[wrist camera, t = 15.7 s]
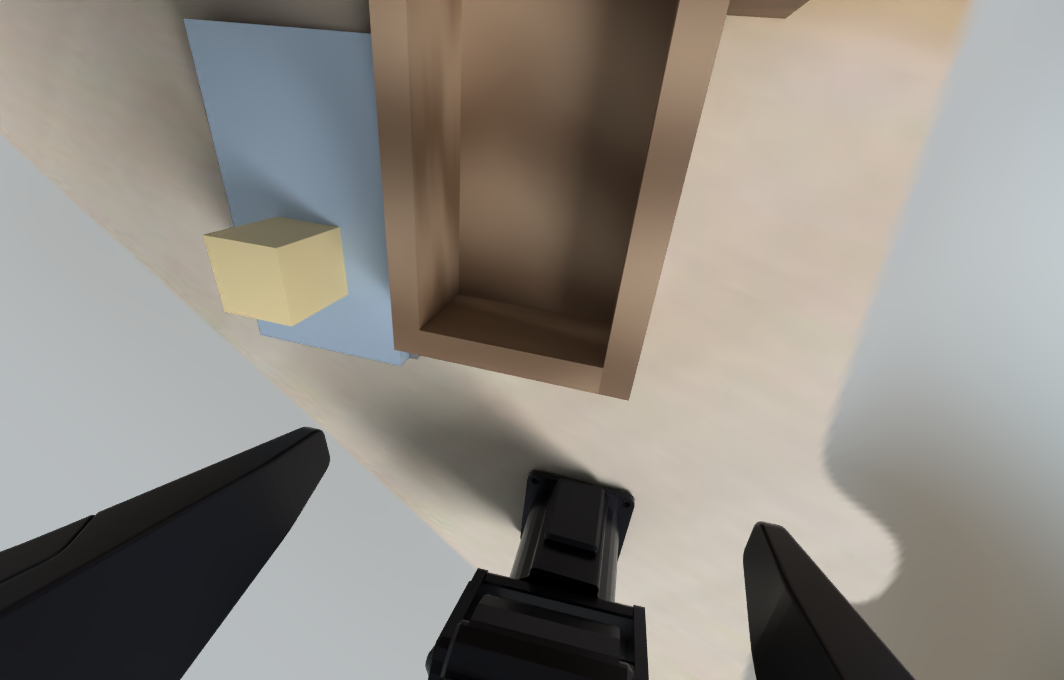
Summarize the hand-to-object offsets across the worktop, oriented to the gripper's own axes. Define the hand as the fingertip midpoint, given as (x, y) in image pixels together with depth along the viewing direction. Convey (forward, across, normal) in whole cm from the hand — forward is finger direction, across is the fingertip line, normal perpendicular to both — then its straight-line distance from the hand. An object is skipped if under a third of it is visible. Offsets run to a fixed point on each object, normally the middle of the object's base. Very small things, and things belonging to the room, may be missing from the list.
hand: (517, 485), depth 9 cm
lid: (+13, +14, -2) cm, 19 cm away
